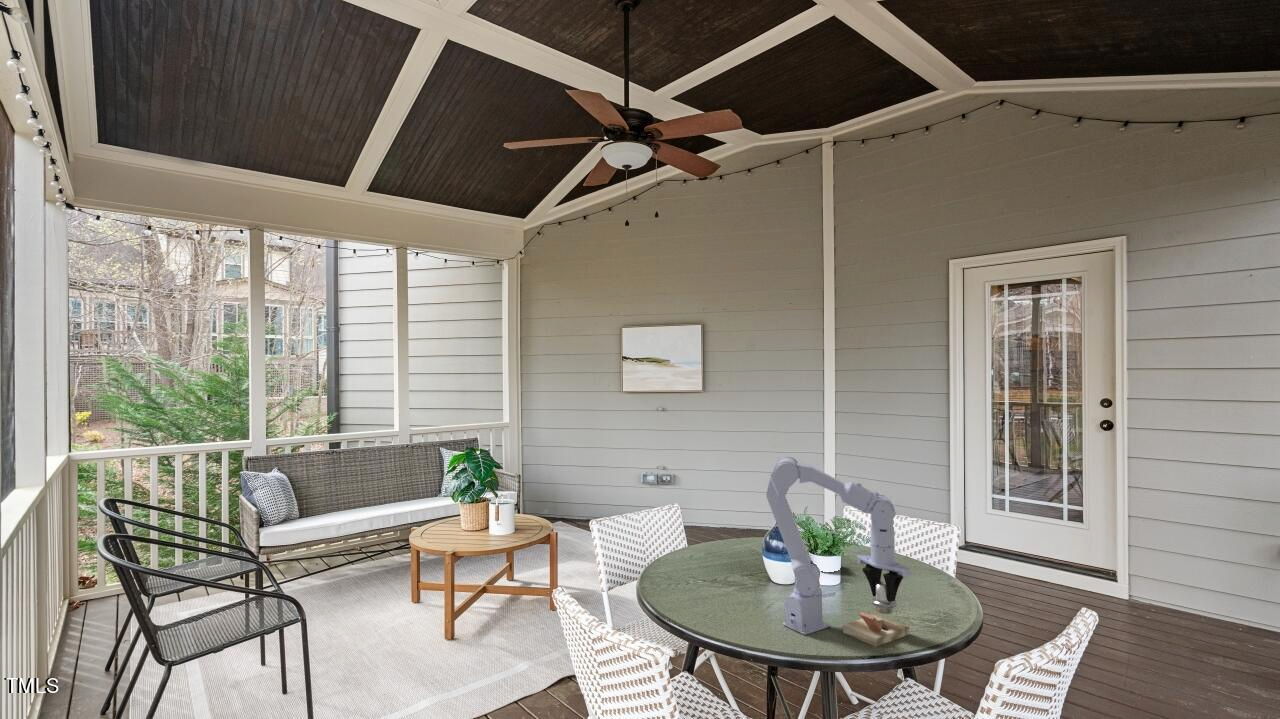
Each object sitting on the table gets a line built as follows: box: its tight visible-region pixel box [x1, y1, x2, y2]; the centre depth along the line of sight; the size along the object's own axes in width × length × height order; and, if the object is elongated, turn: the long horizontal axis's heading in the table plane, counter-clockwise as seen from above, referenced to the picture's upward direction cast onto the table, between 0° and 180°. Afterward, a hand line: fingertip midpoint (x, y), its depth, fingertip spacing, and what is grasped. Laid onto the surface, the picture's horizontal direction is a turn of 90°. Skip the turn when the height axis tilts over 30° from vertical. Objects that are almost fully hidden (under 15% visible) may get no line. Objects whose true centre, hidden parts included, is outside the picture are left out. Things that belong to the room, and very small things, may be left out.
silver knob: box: [871, 580, 897, 615], centre depth 161 cm, size 6×6×7 cm
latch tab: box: [859, 611, 883, 631], centre depth 159 cm, size 4×4×1 cm
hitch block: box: [842, 613, 910, 648], centre depth 161 cm, size 13×10×2 cm
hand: (883, 598), depth 161 cm, fingers closed on silver knob, 4 cm apart
